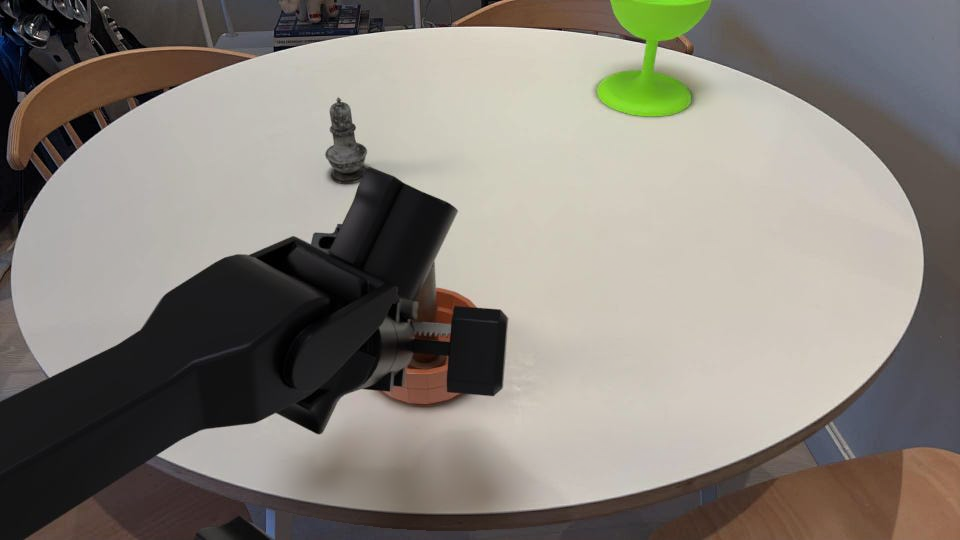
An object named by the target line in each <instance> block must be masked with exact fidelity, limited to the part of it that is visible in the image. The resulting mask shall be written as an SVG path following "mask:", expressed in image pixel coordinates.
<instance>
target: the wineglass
mask: <svg viewBox="0 0 960 540" xmlns="http://www.w3.org/2000/svg"><path fill="white" fill-rule="evenodd" d="M609 1H610V5H611V8H612V13H613V15H614V17H615V18H616V19H617V21H618V22H619V25H621V26H622V27H623V29H625V30H626V31H628V33H630V35H632V36H633V37H636V38H639V39H642V40H645V41H646V42H645V47H644V55H643V59H642V67H641V70H626V71H620V72H616V73H613V74H611V75H609V76H607V77H605V78H604V79H603V80H602V81H601V82H600V83H599V84H598V86H597V89H596V94H597V98H598V99H599V100H600V101H601V102H602V103H603V104H604V105H605V106H607V107H609V109H613V110H615V111H617V112H619V113H624V114H628V115H630V116H631V115H632V116H637V117H645V118H646V117H647V118H649V117H655V118H656V117H657V118H659V117H666V116H671V115H675V114H678V113H681V112H682V111H684V110H686V109H687V108H688V107H689V106H690V104H691V103H692V94H691V92H690V90H689V88H688V87H687V85H685V84H684V83H683V82H682V81H680V80H678V79H677V78H675V77H673V76H670V75H667V74H665V73H661V72H656V71H655V70H654V69H655V64H656V57H657V52H658V46H659V42H664V41H671V40H674V39H676V38H678V37H680V36H683V35H684V34H686V33H688V32H689V31H691V30H692V29H693V28H694V27H695V26H696V25H698V24H699V23H700V21H701V20H702V19H703V17H704V16H705V14H706V13H707V12H708V11H709V9H710V6H711V3H712V1H713V0H609Z"/></svg>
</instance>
